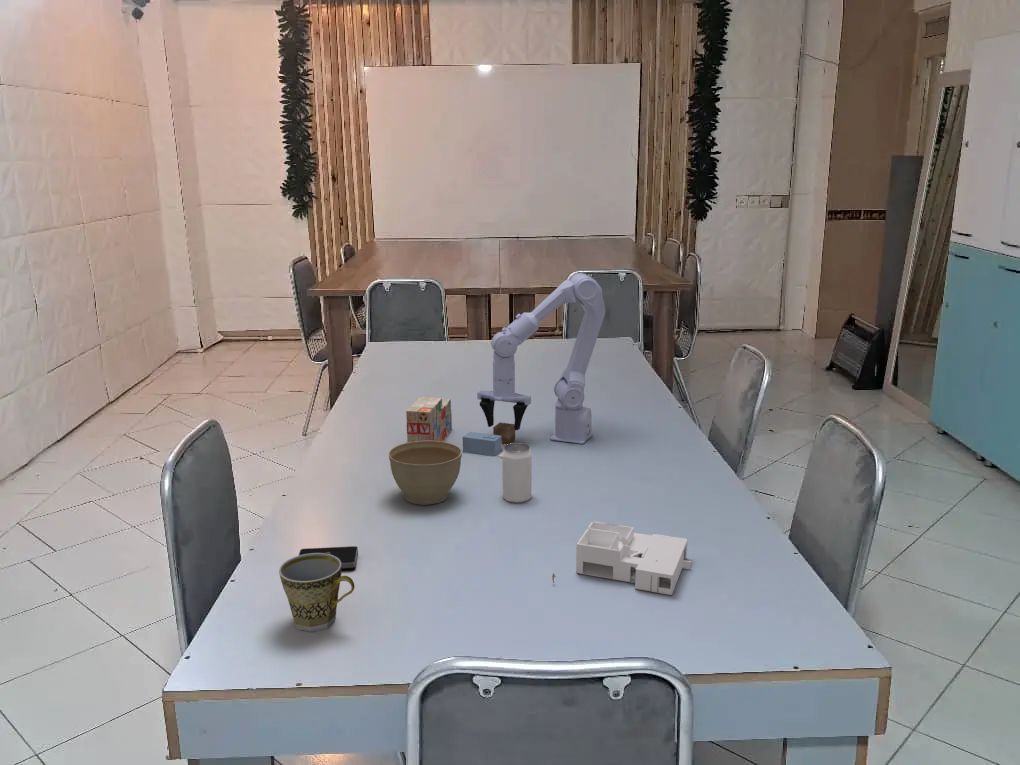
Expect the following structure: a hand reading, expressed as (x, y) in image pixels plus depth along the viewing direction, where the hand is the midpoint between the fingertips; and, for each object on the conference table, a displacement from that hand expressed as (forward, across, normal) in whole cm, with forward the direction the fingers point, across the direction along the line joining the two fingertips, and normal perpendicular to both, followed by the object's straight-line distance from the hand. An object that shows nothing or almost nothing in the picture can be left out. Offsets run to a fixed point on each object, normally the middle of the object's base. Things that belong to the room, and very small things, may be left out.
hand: (504, 427), depth 225 cm
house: (+4, +51, -57) cm, 77 cm away
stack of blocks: (+4, -18, -8) cm, 20 cm away
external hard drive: (+5, -5, -76) cm, 76 cm away
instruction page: (+4, +6, -8) cm, 10 cm away
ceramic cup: (+4, +6, -94) cm, 94 cm away
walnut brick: (+4, 0, 0) cm, 4 cm away
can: (+4, +17, -34) cm, 38 cm away
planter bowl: (+4, -2, -41) cm, 41 cm away
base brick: (+4, -2, -9) cm, 10 cm away
